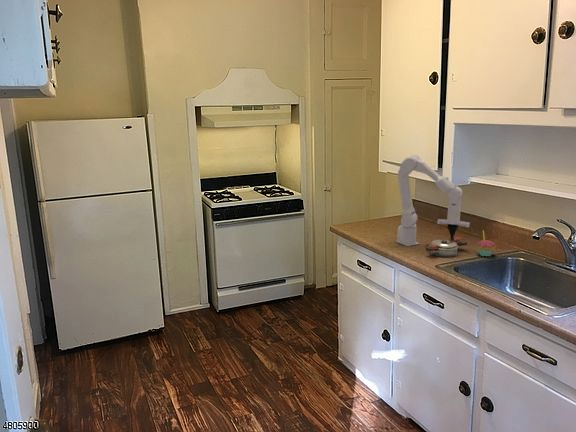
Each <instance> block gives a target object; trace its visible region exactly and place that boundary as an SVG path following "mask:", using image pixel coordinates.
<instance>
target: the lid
mask: <svg viewBox="0 0 576 432" xmlns="http://www.w3.org/2000/svg"><path fill="white" fill-rule="evenodd" d="M461 241H463V238H462V237H460V236H456V237H455V236H454V238H452V239H451V238H450V239H434V240H432V241H431V243H432V245H431V246H430V245H429V247H430V249H437V248H454V247H456V246H457V243H456V242H461Z"/></svg>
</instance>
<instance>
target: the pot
mask: <svg viewBox="0 0 576 432" xmlns="http://www.w3.org/2000/svg"><path fill="white" fill-rule="evenodd" d="M456 243H457V246H456V247H454V248H437V249H430V246H431V245H432V242H430V244H429V246H428V247H425V251H427V252H430V255H432V256H435V257H439V258H454V257H456V256H458V249H459V247H462V246H463V247H464V246H467V245H468V241H464V240H461V241H458V242H456Z"/></svg>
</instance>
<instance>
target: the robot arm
mask: <svg viewBox="0 0 576 432" xmlns="http://www.w3.org/2000/svg"><path fill="white" fill-rule="evenodd" d="M413 171H417V172H418V171H420V172H423V173H424V174H426V175H427V176H428V177H429V178H431V179H432V180H433V181H435V182H434V183H435V185H436V187H437V188H439V189H440V190H441V191H442V192H443V193H445V194H446V195H447V197H448V203H447V205H448V207H447V217H446V219H445V218H444V219H442V218H441V219H440V218H438V219H437V225H447V230H448V232H449V235H450V239H452V238H455V234H456V231H457V230H458V228H459V227H465V228H469V227H470V223H471V222H467V221H464V220H463V221H462V220H461V212H462V211H461V209H462V198H461V197H462V195H463V189H462V188H461V187H460V186H457V184H454V183H453V182H452V181H451V180H449V179H450V177H448V176H444V175H443V176H442V175H440V174H439V173H437V171H435V170H434V169H433V168H432V167H431V166H430V165H429V164H428V163H427V162H426V161H424V160H423V159H422V158H420V156H418V155H415V154H413V155H410V156H409V157H406V158H404V160H402V162H401V165H400V168H399V169H398V172H397V179H398V186H399V193H400V198H401V199H400V200H401V205H402V206H401V207H402V210H401V219H400V222H401V224H400V225H399V226H398V228H397V236H396V237H397V239H396V240H395V242H396V243H398V244H401V245H403V246H406V247H410V246H415V245H420V244H421V243H420V242H418V241H417V224H416V223H417V222H418V219H419V218H418V214H417V213H416V209H415V207H414V205H413V197H412V191H411V190H412V189H411V184H410V177H409V176H410V174H411V173H412V172H413Z"/></svg>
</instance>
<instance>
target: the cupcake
mask: <svg viewBox="0 0 576 432" xmlns="http://www.w3.org/2000/svg"><path fill="white" fill-rule="evenodd" d="M475 245H476V249H478V254H479V255H480V256H481V257H484V256H486V257H487V256H489V257H491V256H492V253H493V251H495V250H496V248H497V245H496V243H495V242H494V241H492V240H488V239H486V237H485V231H484V230H482V239H480V240H479V241H477V242H476V243H475ZM487 258H488V257H487Z"/></svg>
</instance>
